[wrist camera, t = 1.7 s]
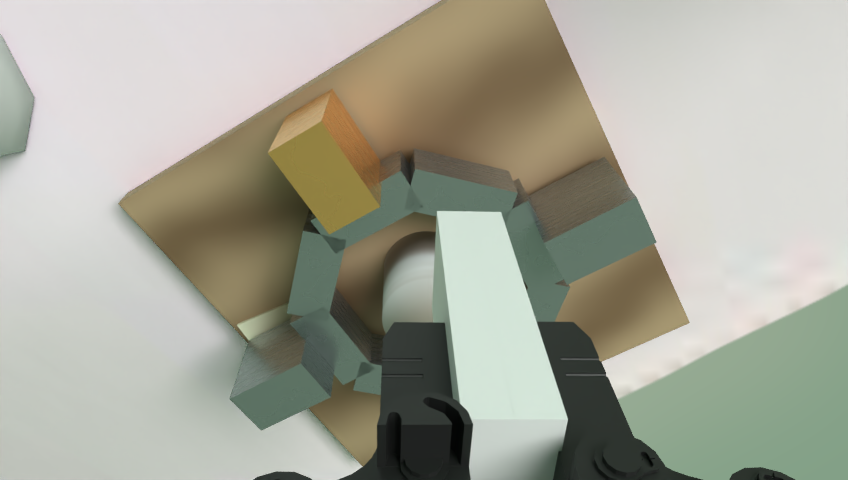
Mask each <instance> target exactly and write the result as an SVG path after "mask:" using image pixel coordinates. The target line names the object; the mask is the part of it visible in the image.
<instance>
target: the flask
mask: <svg viewBox="0 0 848 480" xmlns="http://www.w3.org/2000/svg"><path fill="white" fill-rule="evenodd" d="M33 103H34V96H33V94H32V92H31V90H30V88H29V86H28V84H27V82H26V81H25V79H24V77H23V75H22V73H21V71H20V69H19V67H18V65H17V63H16V61H15V60H14V58H13V56H12V54H11V52H10V50H9V48H8V46H7V44H6V42H5V40H4V39H3V37H2V35H1V34H0V156H3V155H7V154H12V153H17V152H22V151H25V148H26V142H27V137H28V131H29V125H30V120H31V114H32V108H33Z"/></svg>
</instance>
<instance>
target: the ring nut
mask: <svg viewBox="0 0 848 480" xmlns="http://www.w3.org/2000/svg"><path fill="white" fill-rule="evenodd" d="M268 154H269V155H270V157H271V158H272V159H273V161H274V162H275V163H276V165H277V166H278V167H279V169H280V170H281V171H282V173H283V174H284V175H285V177H286V178H287V179H288V181H289V182H290V183H291V185H292V186H293V187H294V189H295V190H296V191H297V193H298V194H299V195H300V197H301V198H302V199H303V200H304V202H305V203H306V204H307V206H308V207H309V211H308V215H307V218H306V222H305V225H304V229H303V233H302V238H301V243H300V248H299V253H298V258H297V264H296V269H295V274H294V279H293V284H292V289H291V294H290V299H289V304H288V309H287V313H288V314H292V317H291V319H289V320H288V321H286V322H284V323H282V324H280V325H278V326H276V327H274V328H272V329H270V330H268V331H266V332H264V333H262V334H260V335H259V336H257V337H255V338H253V339H251V340H249V342H248V345H247V348H246V351H245V354H244V357H243V360H242V363H241V366H240V369H239V372H238V375H237V378H236V381H235V384H234V387H233V390H232V393H231V396H230V400H231V401H232V402H233V403H234V404H235V405H236V406H237V407H238V408H239V409H240V410H241V411H242V412H243V413H244V414H245V415H246V416H247V417H248V418H249V419H250V420H251V421H252V422H253V423H254V424H255V425H256V426H257V427H258V428H259V429H260V430H263V429H265V428H267V427H269V426H271V425H274V424H276V423H278V422H280V421H282V420H284V419H286V418H288V417H290V416H293V415H295V414H297V413H299V412H301V411H303V410H305V409H307V408H309V407H311V406H314V405H316V404H318V403H320V402H322V401H324V400H326V399H328V398H330V397H331V392H332V384H333V377H334V375H335V376H336V377H337V379H338V380H339V381H340V382H341V383H342V384H343V385H344V384H346V383H348V382H350V381H352V380H354V385H353V390H354V391H360V392H366V393H372V394H377V395H381V373H382V346H383V338H384V335H379V334H373V333H371V331H370V330H369V329H368V327H367V326H366V325H365V324H364V322H363V321H362V320H361V319H360V317H359V316H358V315H357V313H356V312H355V311H354V310H353V308H352V307H351V306H350V305H349V303H348V302H347V301H346V300H345V298H344V297H343V296H342V294H341V293H340V292H339V291H338V289H337V288H336V283H337V278H338V274H339V270H340V266H341V262H342V257H343V253H344V249H345V248H347V247H349V246H351V245H353V244H355V243H357V242H359V241H360V240H362V239H364V238H366V237H368V236H370V235H372V234H373V233H375V232H377V231H379V230H381V229H383V228H385V227H387V226H388V225H390V224H392V223H394V222H396V221H398V220H400V219H402V218H403V217H405V216H407V215H409V214H411V213H413V212H418V213H423V214H427V215H432V216H436V217H437V211H473V212H501V213H502V217H503V220H504V223H505V226H506V229H507V232H508V235H509V238H510V241H511V244H512V248H513V251H514V254H515V257H516V260H517V263H518V266H519V269H520V272H521V275H522V279H523V282H524V285H525V288H526V291H527V294H528V297H529V300H530V303H531V306H532V309H533V313H534V316H535V319H536V322H555V319H556V317H557V315H558V313H559V311H560V308H561V306H562V304H563V302H564V300H565V298H566V295H567V293H568V291H569V289H570V286H569V284H570V283H572V282H574V281H576V280H579V279H581V278H583V277H585V276H587V275H589V274H591V273H593V272H595V271H597V270H600V269H602V268H604V267H606V266H608V265H610V264H612V263H614V262H616V261H619V260H621V259H623V258H625V257H627V256H629V255H631V254H633V253H635V252H637V251H640V250H642V249H644V248H646V247H648V246H650V245H652V244H654V243H656V240H655V238H654V236H653V233H652V231H651V229H650V227H649V224H648V222H647V220H646V218H645V215H644V213H643V211H642V209H641V206H640V204H639V202H638V200H637V198H636V196H635V195H634V194H633V192H632V191H631V190H630V188H629V187H628V186H627V185H626V183H625V182H624V181H623V180H622V178H621V177H620V176H619V175H618V173H617V172H616V171H615V169H614V168H613V167H612V166H611V164H610V163H609V162H608V161H607V159H606V158H605V157H603V158H601V159H599V160H597V161H595V162H593V163H591V164H589V165H587V166H585V167H583V168H581V169H579V170H578V171H576V172H574V173H572V174H570V175H568V176H566V177H564V178H562V179H560V180H558V181H556V182H554V183H552V184H550V185H549V186H547V187H545V188H543V189H541V190H539V191H537V192H535V193H533V194H531V195H529V196H528V194H527V192H526V191H525V189H524V187H523V185H522V183H521V181H520V180H519V178H518V179H516V180H514V181H513V180H512V177H511V175H510V172H509V171H508V170H503V169H499V168H495V167H491V166H487V165H483V164H478V163H474V162H470V161H466V160H462V159H458V158H453V157H449V156H445V155H441V154H437V153H433V152H428V151H424V150H420V149H416V148H414V149H413V153H412V156H411V160H410V164H409V163H408V161H407V159H406V158H405V156H404V155H403V153H402V152H401V150H399V151H397V152H396V153H394V154H392V155H390V156H389V157H387V158H385V159H383V160H382V161H380V160H379V158H378V157H377V155H376V154H375V152H374V151H373V149H372V148H371V146H370V145H369V143H368V142H367V140H366V139H365V137H364V136H363V134H362V133H361V131H360V130H359V128H358V127H357V125H356V124H355V122H354V121H353V119H352V118H351V116H350V115H349V113H348V111H347V110H346V108H345V107H344V105H343V104H342V102H341V101H340V99H339V98H338V96H337V95H336V93H335V92H334V90H333V89H331V90H329V91H327V92H326V93H324V94H322V95H321V96H319V97H317V98H316V99H314V100H312V101H311V102H309V103H307V104H306V105H304V106H303V107H301V108H299V109H298V110H296V111H294V112H293V113H291V114H289V115H288V116H286V118H285V120H284V122H283V124H282V126H281V128H280V130H279V132H278V133H277V135H276V137H275V139H274V141H273V143H272V145H271V147H270V149H269V151H268Z"/></svg>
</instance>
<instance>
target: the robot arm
mask: <svg viewBox="0 0 848 480" xmlns="http://www.w3.org/2000/svg"><path fill="white" fill-rule="evenodd" d="M432 313H433V322H394V323H393V324H392V326H391V327H390V329H389V330H388V332H387V333H386V335H385V336H384V338H383V346H382V373H381V400H380V416H379V420H378V423H377V449H376V451H375V452H374V454H373V456H372V458H371V459H370V460H369V461H368V462H367V463H366V464H365V465H364V466H363V467H362V468H361V469H359V470H358V471H356V472H355V473H353V474H351V475H349V476H346V477H344V478H341V479H339V480H701V479H698V478H694V477H690V476H686V475H684V474H681V473H678V472H675V471H672V470H671V469H669V468H667V467H665V465H664V463H663V462H662V461H661V459H660V458H659V456H658V455H657V454H656V452H655V451H654V450H652V449H651V448H650V447H649V446H647V445H646V444H645V443H643V442H642V441H641V440H638V439H636V438H634V436H633V434H632V432H631V430H630V427H629V425H628V423H627V420H626V418H625V416H624V413H623V411H622V409H621V407H620V404H619V402H618V400H617V397H616V395H615V393H614V390H613V388H612V386H611V383H610V381H609V379H608V377H606V372H605V370H604V367H603V365H602V363H601V361H599V356H598V354H597V351H596V349H595V347H594V344H593V342H592V340H591V338H590V337H589V336H588V335H587V334H586V333H585V332H584V331H583V330H582V329H581V328H579V327H578V326H577V325H576V324H575V323H574V322H536V319H535V316H534V313H533V309H532V306H531V303H530V300H529V297H528V294H527V291H526V288H525V285H524V282H523V279H522V275H521V272H520V269H519V266H518V263H517V260H516V257H515V254H514V251H513V248H512V244H511V241H510V238H509V235H508V232H507V229H506V226H505V223H504V220H503V217H502V213H501V212H473V211H437V218H436V238H435V258H434V277H433V297H432ZM254 480H312V479H311V478H308V477H306V476H303V475H301V474H298V473H296V472H273V473H270V474H266V475H263V476H259V477H257V478H255V479H254ZM730 480H795V479H793V478H791V477H789V476H787V475H785V474H783V473H781V472H777V471H773V470H769V469H765V468H761V467H760V468H744V469H742V470H740V471H738V472H736V473H734V474H732V476H731V478H730Z"/></svg>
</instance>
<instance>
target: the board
mask: <svg viewBox="0 0 848 480" xmlns="http://www.w3.org/2000/svg"><path fill="white" fill-rule="evenodd" d="M331 89H333V90H334V92H335V93H336V95H337V96H338V98H339V99H340V101H341V102H342V104H343V105H344V107H345V108H346V110H347V111H348V113H349V115H350V116H351V118H352V119H353V121H354V122H355V124H356V125H357V127H358V128H359V130H360V131H361V133H362V134H363V136H364V137H365V139H366V140H367V142H368V143H369V145H370V146H371V148H372V149H373V151H374V152H375V154H376V155H377V157H378V158H379V160H380V161H382V160H383V159H385V158H387V157H389V156H390V155H392V154H394V153H396V152H397V151H399V150H401V152H402V153H403V155H404V156H405V158H406V159H407V161H408V163H409V164H410V160H411V156H412V153H413V149H414V148H416V149H420V150H424V151H428V152H433V153H437V154H441V155H445V156H449V157H453V158H458V159H462V160H466V161H470V162H474V163H478V164H483V165H487V166H491V167H495V168H499V169H503V170H508V171H509V172H510V175H511V177H512V180H513V181H514V180H516V179H518V178H519V180H520V181H521V183H522V185H523V187H524V189H525V191H526V192H527V194H528V196H529V195H531V194H533V193H535V192H537V191H539V190H541V189H543V188H545V187H547V186H549V185H550V184H552V183H554V182H556V181H558V180H560V179H562V178H564V177H566V176H568V175H570V174H572V173H574V172H576V171H578V170H579V169H581V168H583V167H585V166H587V165H589V164H591V163H593V162H595V161H597V160H599V159H601V158H603V157H605V158H606V159H607V161H608V162H609V163H610V164H611V166H612V167H613V168H614V169H615V171H616V172H617V173H618V175H619V176H620V177H621V178H622V180H623V181H624V182H625V183H626V185H627V186H628V184H627V182H626V180H625V178H624V176H623V173H622V171H621V169H620V167H619V164H618V162H617V160H616V158H615V156H614V153H613V151H612V149H611V147H610V144H609V142H608V140H607V138H606V136H605V133H604V131H603V129H602V127H601V124H600V122H599V120H598V118H597V116H596V113H595V111H594V109H593V107H592V104H591V102H590V100H589V98H588V96H587V93H586V91H585V89H584V87H583V84H582V82H581V80H580V78H579V76H578V73H577V71H576V69H575V67H574V64H573V62H572V60H571V58H570V55H569V53H568V51H567V49H566V47H565V44H564V42H563V40H562V38H561V35H560V33H559V31H558V29H557V27H556V24H555V22H554V20H553V18H552V15H551V13H550V11H549V9H548V7H547V4H546V2H545V0H441V1H440V2H438V3H436V4H435V5H433V6H432V7H430V8H428V9H427V10H425V11H423V12H422V13H420V14H419V15H417V16H415V17H414V18H412V19H410V20H409V21H407V22H406V23H404V24H402V25H401V26H399V27H397V28H396V29H394V30H392V31H391V32H389V33H388V34H386V35H384V36H383V37H381V38H379V39H378V40H376V41H375V42H373V43H371V44H370V45H368V46H366V47H365V48H363V49H362V50H360V51H358V52H357V53H355V54H353V55H352V56H350V57H349V58H347V59H345V60H344V61H342V62H340V63H339V64H337V65H335V66H334V67H332V68H331V69H329V70H327V71H326V72H324V73H322V74H321V75H319V76H318V77H316V78H314V79H313V80H311V81H309V82H308V83H306V84H305V85H303V86H301V87H300V88H298V89H296V90H295V91H293V92H292V93H290V94H288V95H287V96H285V97H283V98H282V99H280V100H278V101H277V102H275V103H274V104H272V105H270V106H269V107H267V108H265V109H264V110H262V111H261V112H259V113H257V114H256V115H254V116H252V117H251V118H249V119H248V120H246V121H244V122H243V123H241V124H239V125H238V126H236V127H235V128H233V129H231V130H230V131H228V132H226V133H225V134H223V135H221V136H220V137H218V138H217V139H215V140H213V141H212V142H210V143H208V144H207V145H205V146H204V147H202V148H200V149H199V150H197V151H195V152H194V153H192V154H191V155H189V156H187V157H186V158H184V159H182V160H181V161H179V162H178V163H176V164H174V165H173V166H171V167H169V168H168V169H166V170H164V171H163V172H161V173H160V174H158V175H156V176H155V177H153V178H151V179H150V180H148V181H147V182H145V183H143V184H142V185H140V186H138V187H137V188H135V189H134V190H132V191H130V192H129V193H127V194H126V196H125V197H124V198H123V199H122V200H121V201H120V202H119V203H118V204H119V205H120V206H121V207H122V208H123V209H124V210H125V211H126V212H127V213H128V215H129V216H130V217H131V218H132V219H133V220H134V221H135V222H136V223H137V224H138V225H139V226H140V227H141V228H142V230H143V231H144V232H145V233H146V234H147V235H148V236H149V237H150V238H151V239H152V240H153V241H154V242H155V244H156V245H157V246H158V247H159V248H160V249H161V250H162V251H163V252H164V253H165V254H166V255H167V256H168V258H169V259H170V260H171V261H172V262H173V263H174V264H175V265H176V266H177V267H178V268H179V269H180V270H181V272H182V273H183V274H184V275H185V276H186V277H187V278H188V279H189V280H190V281H191V282H192V283H193V284H194V286H195V287H196V288H197V289H198V290H199V291H200V292H201V293H202V294H203V295H204V296H205V297H206V298H207V300H208V301H209V302H210V303H211V304H212V305H213V306H214V307H215V308H216V309H217V310H218V311H219V312H220V314H221V315H222V316H223V317H224V318H225V319H226V320H227V321H228V322H229V323H230V324H231V325H232V326H233V327H234V329H235V330H236V331H237V332H238V333H239V334H240V335H241V336H242V337H243V338H244V339H245V340H246V341H247V343H248V342H249V340H251V339H253V338H255V337H257V336H259V335H260V334H262V333H264V332H266V331H268V330H270V329H272V328H274V327H276V326H278V325H280V324H282V323H284V322H286V321H288V320H289V319H291V317H292V314H288V313H287V309H288V304H289V299H290V294H291V289H292V284H293V279H294V274H295V269H296V264H297V258H298V253H299V248H300V243H301V238H302V233H303V229H304V225H305V222H306V218H307V215H308V211H309V207H308V206H307V204H306V203H305V202H304V200H303V199H302V198H301V197H300V195H299V194H298V193H297V191H296V190H295V189H294V187H293V186H292V185H291V183H290V182H289V181H288V179H287V178H286V177H285V175H284V174H283V173H282V171H281V170H280V169H279V167H278V166H277V165H276V163H275V162H274V161H273V159H272V158H271V157H270V155H269V154H268V151H269V149H270V147H271V145H272V143H273V141H274V139H275V137H276V135H277V133H278V132H279V130H280V128H281V126H282V124H283V122H284V120H285V118H286V116H288V115H289V114H291V113H293V112H294V111H296V110H298V109H299V108H301V107H303V106H304V105H306V104H307V103H309V102H311V101H312V100H314V99H316V98H317V97H319V96H321V95H322V94H324V93H326V92H327V91H329V90H331ZM436 218H437V217H436V216H432V215H427V214H423V213H418V212H413V213H411V214H409V215H407V216H405V217H403V218H402V219H400V220H398V221H396V222H394V223H392V224H390V225H388V226H387V227H385V228H383V229H381V230H379V231H377V232H375V233H373V234H372V235H370V236H368V237H366V238H364V239H362V240H360V241H359V242H357V243H355V244H353V245H351V246H349V247H347V248H345V249H344V253H343V257H342V262H341V266H340V270H339V274H338V278H337V283H336V288H337V289H338V291H339V292H340V293H341V294H342V296H343V297H344V298H345V300H346V301H347V302H348V303H349V305H350V306H351V307H352V308H353V310H354V311H355V312H356V313H357V315H358V316H359V317H360V319H361V320H362V321H363V322H364V324H365V325H366V326H367V327H368V329H369V330H370V331H371V333H373V334H379V335H384V336H385V335H386V333H387V332H388V330H389V329H390V327H391V326H392V324H393V323H394V322H433V313H432V297H433V277H434V258H435V238H436ZM569 286H570V289H569V291H568V293H567V295H566V298H565V300H564V302H563V304H562V306H561V308H560V311H559V313H558V315H557V317H556V319H555V322H574V323H575V324H576V325H577V326H578V327H579V328H581V329H582V330H583V331H584V332H585V333H586V334H587V335H588V336H589V337H590V338H591V340H592V342H593V344H594V347H595V349H596V351H597V354H598V356H599V361H601V362H602V361H604V360H606V359H609V358H611V357H613V356H616V355H618V354H620V353H622V352H625V351H627V350H629V349H631V348H634V347H636V346H638V345H640V344H643V343H645V342H647V341H650V340H652V339H654V338H656V337H659V336H661V335H663V334H665V333H668V332H670V331H672V330H675V329H677V328H679V327H681V326H684V325H686V324H688V323H690V322H689V320H688V318H687V316H686V313H685V311H684V309H683V307H682V305H681V302H680V300H679V298H678V296H677V293H676V291H675V289H674V287H673V285H672V282H671V280H670V278H669V276H668V273H667V271H666V269H665V267H664V265H663V262H662V260H661V258H660V256H659V253H658V251H657V249H656V247H655V245H654V244H652V245H650V246H648V247H646V248H644V249H642V250H640V251H637V252H635V253H633V254H631V255H629V256H627V257H625V258H623V259H621V260H619V261H616V262H614V263H612V264H610V265H608V266H606V267H604V268H602V269H600V270H597V271H595V272H593V273H591V274H589V275H587V276H585V277H583V278H581V279H579V280H576V281H574V282H572V283H570V284H569ZM353 385H354V380H352V381H350V382H348V383H346V384H344V385H343V384H342V383H341V382H340V381H339V380H338V379H337V377H336V376H335V375H334V377H333V384H332V392H331V397H330V398H328V399H326V400H324V401H322V402H320V403H318V404H316V405H314V406H311V407H309V409H310V410H311V411H312V413H313V414H314V415H315V416H316V417H317V418H318V419H319V420H320V421H321V422H322V423H323V424H324V425H325V427H326V428H327V429H328V430H329V431H330V432H331V433H332V434H333V435H334V436H335V437H336V438H337V439H338V440H339V442H340V443H341V444H342V445H343V446H344V447H345V448H346V449H347V450H348V451H349V452H350V453H351V454H352V456H353V457H354V458H355V459H356V460H357V461H358V462H359V463H360V464H361V465H362V466H364V465H365V464H366V463H367V462H368V461H369V460H370V459H371V458H372V456H373V454H374V452H375V451H376V449H377V423H378V420H379V416H380V400H381V395H377V394H372V393H366V392H360V391H354V390H353Z"/></svg>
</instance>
